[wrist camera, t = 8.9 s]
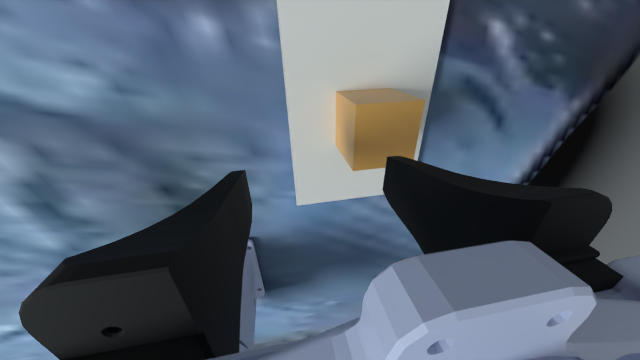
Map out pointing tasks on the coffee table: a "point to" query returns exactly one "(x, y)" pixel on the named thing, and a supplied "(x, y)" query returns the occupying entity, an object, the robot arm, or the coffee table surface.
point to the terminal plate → (350, 78)
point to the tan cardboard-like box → (376, 126)
